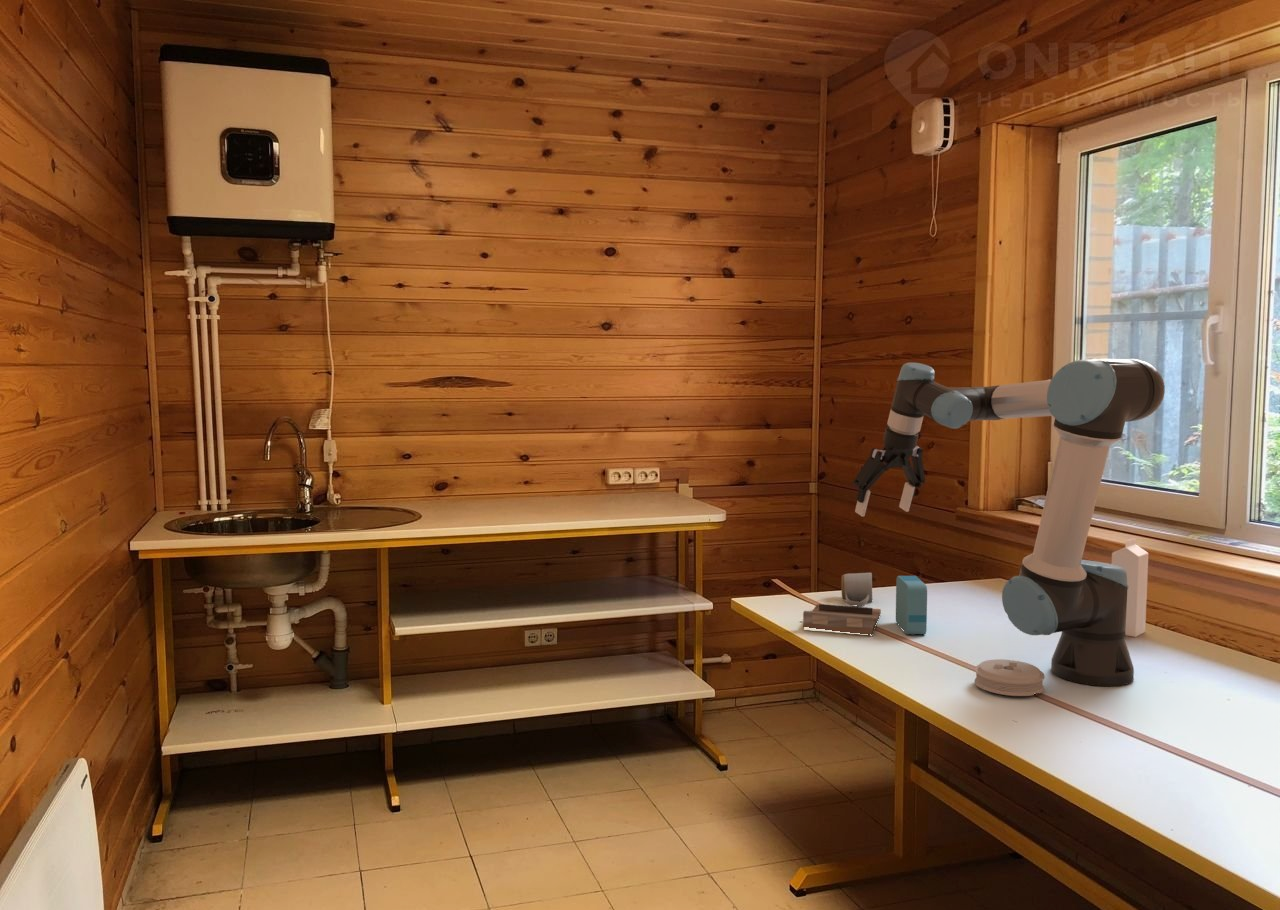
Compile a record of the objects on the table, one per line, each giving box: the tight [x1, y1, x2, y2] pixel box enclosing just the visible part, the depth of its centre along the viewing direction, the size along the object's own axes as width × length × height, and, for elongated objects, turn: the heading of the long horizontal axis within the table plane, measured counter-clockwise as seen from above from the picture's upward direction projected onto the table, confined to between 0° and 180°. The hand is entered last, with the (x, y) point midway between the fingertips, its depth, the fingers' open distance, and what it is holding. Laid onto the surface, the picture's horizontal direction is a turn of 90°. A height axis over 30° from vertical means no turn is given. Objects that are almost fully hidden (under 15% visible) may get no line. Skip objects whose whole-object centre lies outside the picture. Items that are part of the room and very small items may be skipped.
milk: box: [1111, 537, 1149, 638], centre depth 224 cm, size 6×6×22 cm
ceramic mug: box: [840, 572, 874, 607], centre depth 255 cm, size 11×8×8 cm
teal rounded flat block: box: [895, 575, 928, 635], centre depth 228 cm, size 12×4×12 cm, turn 178°
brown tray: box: [802, 603, 882, 636], centre depth 235 cm, size 20×16×4 cm
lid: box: [974, 658, 1046, 697], centre depth 187 cm, size 13×13×5 cm
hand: (881, 511), depth 230 cm, fingers open, 13 cm apart
